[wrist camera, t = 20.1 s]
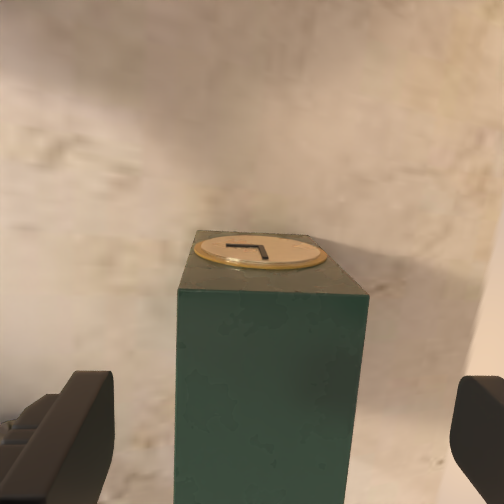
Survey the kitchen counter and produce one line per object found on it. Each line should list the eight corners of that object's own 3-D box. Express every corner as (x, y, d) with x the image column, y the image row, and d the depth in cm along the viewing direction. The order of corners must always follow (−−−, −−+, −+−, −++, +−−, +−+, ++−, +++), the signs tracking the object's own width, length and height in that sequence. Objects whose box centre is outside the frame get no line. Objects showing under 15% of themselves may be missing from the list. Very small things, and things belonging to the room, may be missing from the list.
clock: (343, 509, 15) (372, 286, 13) (173, 510, 15) (177, 279, 13) (296, 369, 25) (308, 229, 23) (192, 367, 24) (196, 224, 23)
